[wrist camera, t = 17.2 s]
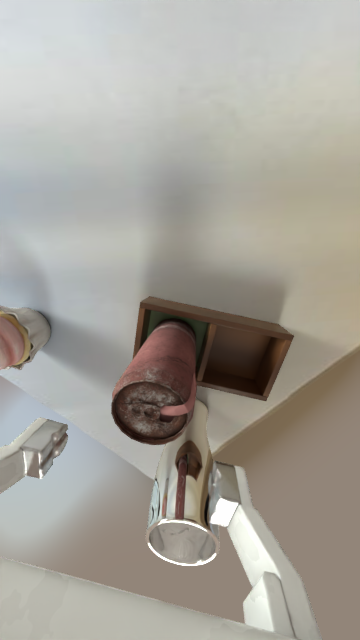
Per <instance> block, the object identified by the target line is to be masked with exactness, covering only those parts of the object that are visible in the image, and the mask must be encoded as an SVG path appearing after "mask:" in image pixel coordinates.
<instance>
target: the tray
mask: <svg viewBox="0 0 360 640" xmlns="http://www.w3.org/2000/svg"><path fill="white" fill-rule="evenodd" d="M170 318H177V319H181V320H183V321H185V322H187V323H188V324H189V325H190V326H191V327H192V328H193V330H194V332H195V335H196V366H195V378H196V385H198V386H202V387H207V388H211V389H215V390H220V391H224V392H228V393H233V394H237V395H241V396H246V397H250V398H254V399H259V400H263V401H266V400H267V398H268V396H269V394H270V391H271V389H272V387H273V384H274V382H275V380H276V377H277V375H278V373H279V370H280V368H281V366H282V363H283V361H284V359H285V356H286V354H287V351H288V349H289V347H290V344H291V342H292V339H293V337H294V335H292V334H291V333H290V332H288V331H287V330H286V329H284V328H283V327H281V326H280V325H279V324H274V323H270V322H265V321H260V320H256V319H251V318H247V317H242V316H237V315H233V314H228V313H224V312H219V311H214V310H210V309H205V308H200V307H196V306H191V305H187V304H182V303H177V302H173V301H168V300H164V299H159V298H154V297H150V296H149V297H148V298H146V299H145V300H143V301H142V302H140V308H139V315H138V323H137V330H136V338H135V345H134V353H133V359H134V357H135V356H136V355H137V353H138V352H139V350H140V349H141V347H142V346H143V344H144V343H145V341H146V340H147V339H148V337H149V336H150V334H151V333H152V331H153V330H154V328H155V327H156V326H157V325H158V324H159V323H160V322H161V321H163V320H165V319H170Z"/></svg>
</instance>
